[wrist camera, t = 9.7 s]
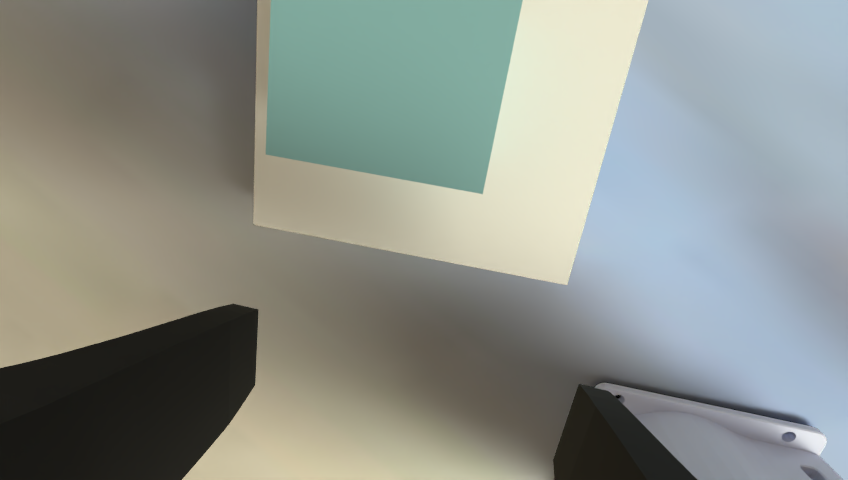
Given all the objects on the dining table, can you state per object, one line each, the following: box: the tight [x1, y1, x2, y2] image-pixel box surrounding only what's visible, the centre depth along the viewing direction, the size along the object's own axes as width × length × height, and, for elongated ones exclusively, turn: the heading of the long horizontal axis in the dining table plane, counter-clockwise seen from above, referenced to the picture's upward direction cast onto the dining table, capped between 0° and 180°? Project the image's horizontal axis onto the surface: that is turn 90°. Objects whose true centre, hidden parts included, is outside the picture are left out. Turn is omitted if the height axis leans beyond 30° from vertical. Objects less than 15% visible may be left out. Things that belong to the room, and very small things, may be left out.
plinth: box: [253, 0, 648, 285], centre depth 14 cm, size 12×12×2 cm
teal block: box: [266, 0, 523, 194], centre depth 10 cm, size 4×4×6 cm
